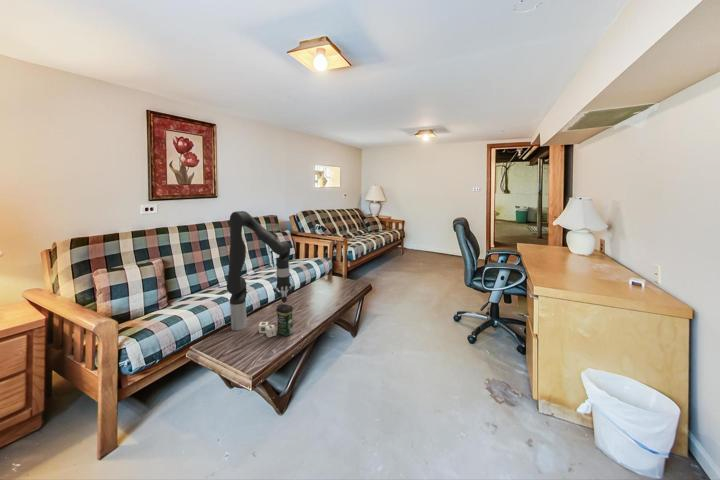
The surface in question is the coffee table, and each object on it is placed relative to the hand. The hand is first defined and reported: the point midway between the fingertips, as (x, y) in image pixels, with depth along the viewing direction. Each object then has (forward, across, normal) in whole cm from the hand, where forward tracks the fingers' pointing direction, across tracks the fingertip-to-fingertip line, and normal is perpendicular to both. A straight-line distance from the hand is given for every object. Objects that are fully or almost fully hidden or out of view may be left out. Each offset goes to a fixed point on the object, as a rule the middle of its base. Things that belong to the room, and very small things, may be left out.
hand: (284, 302), depth 177 cm
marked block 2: (+20, -9, +2) cm, 22 cm away
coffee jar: (+21, 0, 0) cm, 21 cm away
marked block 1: (+20, -12, +8) cm, 25 cm away
